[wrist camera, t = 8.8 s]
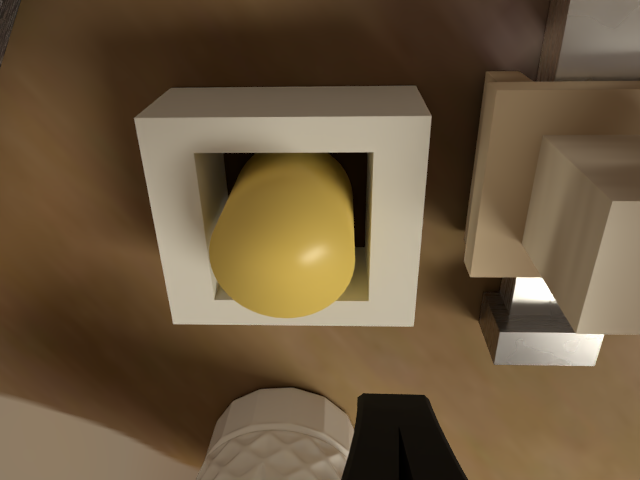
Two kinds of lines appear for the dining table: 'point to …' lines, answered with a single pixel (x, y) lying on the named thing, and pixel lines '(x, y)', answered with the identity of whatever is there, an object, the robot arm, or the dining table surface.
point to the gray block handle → (532, 293)
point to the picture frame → (7, 22)
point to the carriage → (560, 195)
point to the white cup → (279, 438)
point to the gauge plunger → (286, 235)
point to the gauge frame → (287, 137)
